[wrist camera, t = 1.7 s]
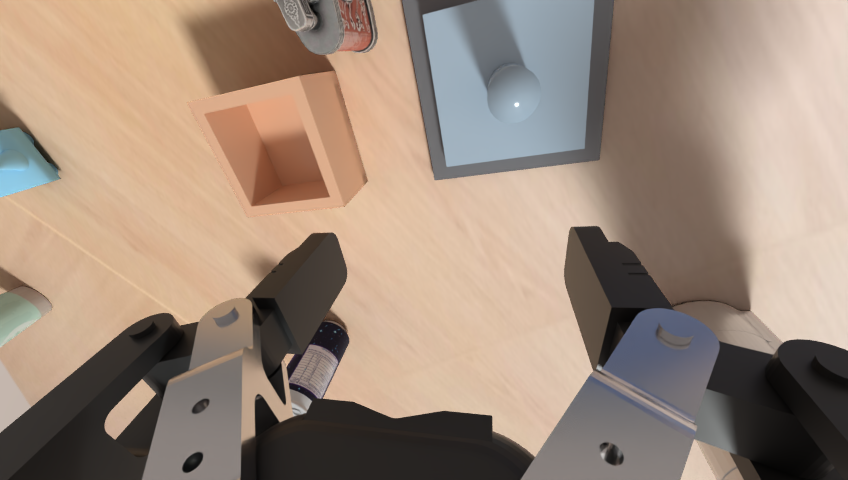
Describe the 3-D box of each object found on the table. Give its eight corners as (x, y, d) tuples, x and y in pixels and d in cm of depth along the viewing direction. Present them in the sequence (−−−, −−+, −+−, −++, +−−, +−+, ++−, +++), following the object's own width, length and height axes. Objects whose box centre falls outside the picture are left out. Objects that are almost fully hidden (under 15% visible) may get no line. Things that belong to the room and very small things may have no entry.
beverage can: (310, 314, 44) (257, 394, 34) (347, 318, 43) (304, 401, 33) (319, 342, 47) (273, 422, 37) (354, 345, 46) (317, 429, 36)
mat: (615, -62, 19) (620, -66, 19) (596, 157, 26) (599, 160, 26) (403, -3, 23) (401, -4, 22) (436, 177, 30) (434, 180, 29)
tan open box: (334, 70, 26) (298, 75, 21) (367, 181, 31) (344, 206, 26) (239, 92, 29) (186, 102, 24) (283, 192, 34) (247, 217, 29)
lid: (591, -27, 20) (635, -60, 14) (580, 144, 25) (609, 175, 19) (425, 16, 23) (402, 5, 17) (448, 162, 28) (436, 194, 22)
